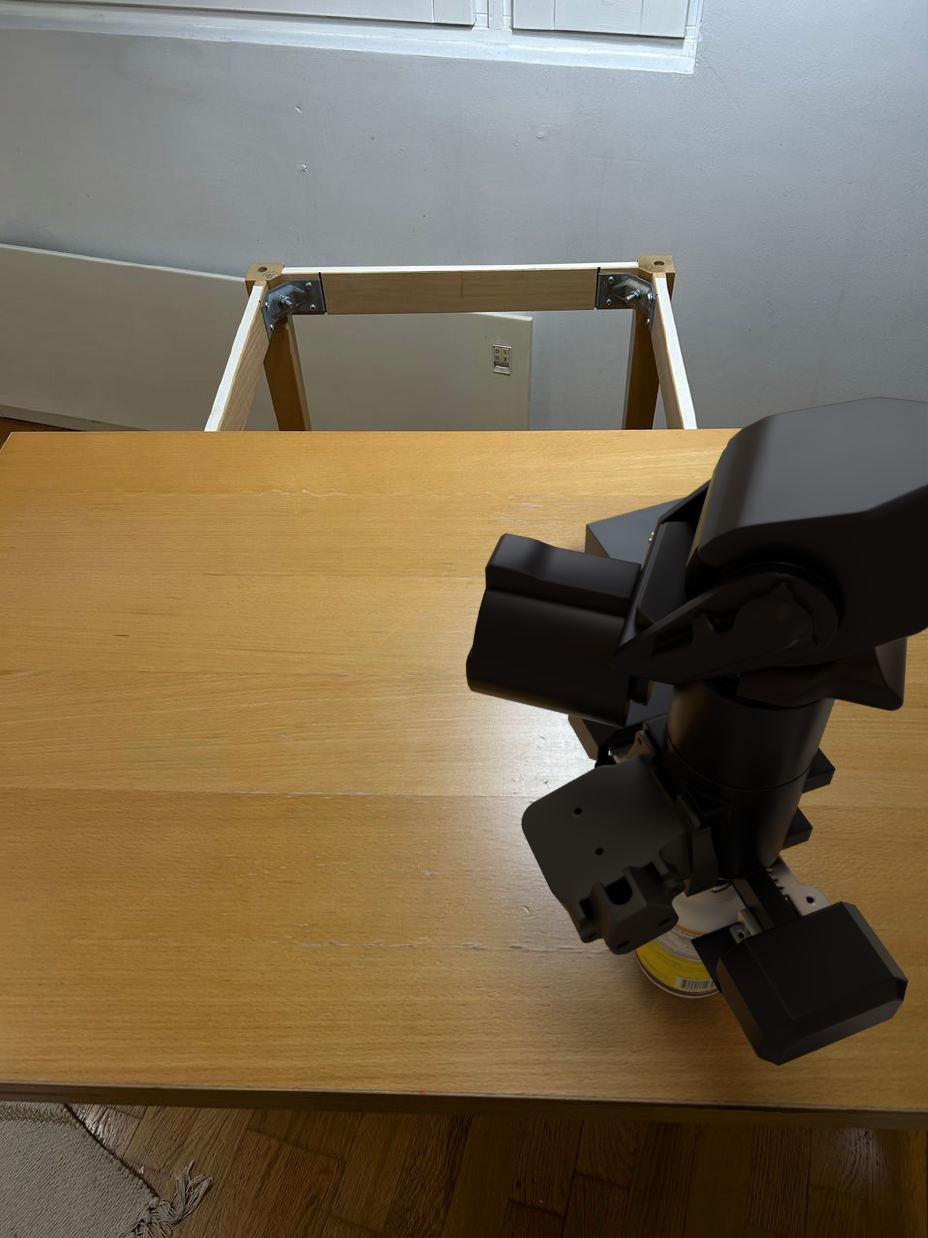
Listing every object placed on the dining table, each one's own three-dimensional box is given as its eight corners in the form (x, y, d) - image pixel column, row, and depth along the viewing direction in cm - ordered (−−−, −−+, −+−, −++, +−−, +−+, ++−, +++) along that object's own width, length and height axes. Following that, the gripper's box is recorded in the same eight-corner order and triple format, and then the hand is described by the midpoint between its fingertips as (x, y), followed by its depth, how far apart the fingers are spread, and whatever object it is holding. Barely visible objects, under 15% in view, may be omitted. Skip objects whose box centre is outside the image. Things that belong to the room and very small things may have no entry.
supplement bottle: (675, 882, 54) (699, 772, 47) (761, 951, 51) (801, 845, 44) (608, 950, 51) (622, 845, 44) (694, 1026, 48) (724, 927, 41)
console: (847, 615, 68) (858, 582, 65) (649, 677, 64) (654, 644, 62) (749, 508, 76) (756, 475, 74) (570, 558, 73) (571, 525, 71)
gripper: (463, 624, 42) (475, 824, 54) (670, 1031, 30) (630, 1180, 41) (692, 558, 45) (658, 762, 56) (973, 909, 32) (858, 1082, 43)
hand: (691, 922), depth 49 cm, fingers closed on supplement bottle, 5 cm apart
